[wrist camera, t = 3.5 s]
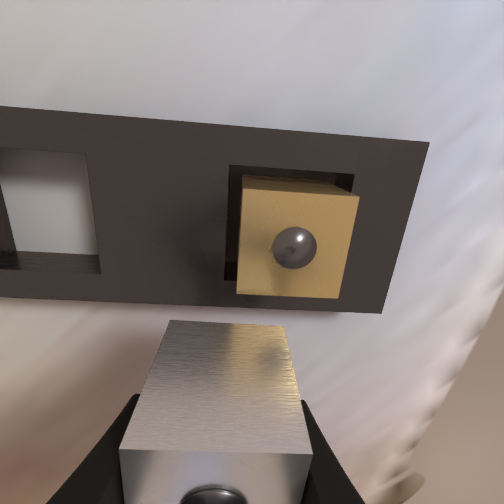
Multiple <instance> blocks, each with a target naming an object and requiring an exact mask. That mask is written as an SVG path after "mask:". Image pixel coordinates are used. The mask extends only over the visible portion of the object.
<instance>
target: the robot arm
mask: <svg viewBox="0 0 504 504" xmlns="http://www.w3.org/2000/svg"><path fill="white" fill-rule="evenodd" d="M139 397H140V394H135V395H133V396H132V397H131V399H130V400H129V402H128V403H127V405H126V406H125V407H124V409H123V410H122V412H121V413H120V414H119V416H118V417H117V418H116V420H115V421H114V422H113V424H112V425H111V426H110V428H109V429H108V430H107V432H106V433H105V434H104V436H103V437H102V438H101V439H100V441H99V442H98V443H97V444H96V446H95V447H94V448H93V449H92V451H91V452H90V453H89V454H88V455H87V457H86V458H85V459H84V460H83V462H82V463H81V464H80V465H79V466H78V468H77V469H76V470H75V471H74V472H73V473H72V475H71V476H70V477H69V478H68V479H67V480H66V481H65V483H64V484H63V485H62V486H61V487H60V488H59V490H58V491H57V492H56V493H55V494H54V495H53V496H52V497H51V499H50V500H49V501H48V502H47V503H46V504H125V502H124V493H123V484H122V474H121V465H120V456H119V447H120V445H121V442H122V440H123V437H124V435H125V432H126V430H127V427H128V425H129V422H130V420H131V417H132V414H133V412H134V409H135V407H136V404H137V402H138V399H139ZM301 405H302V409H303V413H304V418H305V422H306V426H307V430H308V435H309V439H310V443H311V448H312V452H313V456H312V460H311V464H310V468H309V472H308V476H307V480H306V483H305V487H304V491H303V495H302V499H301V503H300V504H365V502H364V501H363V499H362V498H361V496H360V495H359V493H358V492H357V490H356V489H355V487H354V486H353V484H352V483H351V481H350V480H349V478H348V476H347V475H346V473H345V472H344V470H343V468H342V467H341V465H340V463H339V462H338V460H337V458H336V457H335V455H334V453H333V452H332V450H331V448H330V447H329V445H328V443H327V441H326V440H325V438H324V436H323V434H322V432H321V431H320V429H319V427H318V425H317V423H316V421H315V419H314V417H313V415H312V413H311V411H310V410H309V407H308V405H307V403H306V402H305V401H304V400H301Z"/></svg>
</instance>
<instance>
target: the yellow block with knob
mask: <svg viewBox="0 0 504 504" xmlns="http://www.w3.org/2000/svg"><path fill="white" fill-rule="evenodd" d="M359 198H360V197H359V196H357V195H354V194H352V193H350V192H348V191H346V190H343V189H341V188H339V187H337V186H335V185H332V184H330V183H328V182H326V181H322V180H308V179H295V178H281V177H267V176H254V175H242V186H241V202H240V218H239V235H238V251H237V290H236V294H249V295H270V296H292V297H314V298H335V299H338V297H339V292H340V287H341V283H342V278H343V273H344V268H345V264H346V259H347V254H348V250H349V245H350V240H351V235H352V231H353V226H354V221H355V217H356V212H357V207H358V203H359Z"/></svg>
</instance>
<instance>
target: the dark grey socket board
mask: <svg viewBox="0 0 504 504" xmlns="http://www.w3.org/2000/svg"><path fill="white" fill-rule="evenodd" d="M429 143H430V142H421V141H409V140H397V139H385V138H374V137H362V136H350V135H338V134H326V133H314V132H303V131H291V130H279V129H267V128H255V127H243V126H232V125H220V124H208V123H196V122H184V121H173V120H161V119H149V118H137V117H125V116H113V115H102V114H90V113H78V112H66V111H54V110H42V109H31V108H19V107H7V106H0V147H5V148H18V149H31V150H45V151H58V152H71V153H84V154H86V160H87V168H88V175H89V183H90V191H91V198H92V206H93V214H94V222H95V229H96V237H97V245H98V252H99V255H84V254H65V253H46V252H27V251H16V247H15V243H14V239H13V235H12V231H11V227H10V223H9V218H8V214H7V210H6V206H5V202H4V198H3V194H2V189H1V185H0V297H10V298H33V299H56V300H79V301H102V302H125V303H148V304H171V305H194V306H217V307H240V308H263V309H286V310H309V311H333V312H356V313H379V314H382V310H383V307H384V303H385V299H386V296H387V292H388V289H389V285H390V282H391V278H392V275H393V271H394V268H395V264H396V260H397V257H398V253H399V250H400V246H401V243H402V239H403V236H404V232H405V229H406V225H407V221H408V218H409V214H410V211H411V207H412V204H413V200H414V197H415V193H416V190H417V186H418V182H419V179H420V175H421V172H422V168H423V165H424V161H425V158H426V154H427V151H428V147H429ZM230 165H243V166H256V167H269V168H282V169H296V170H309V171H322V172H335V173H337V178H336V184H335V186H337V187H339V188H341V189H343V190H346V191H348V192H350V193H352V194H354V195H357V196H359V197H360V198H359V203H358V207H357V212H356V217H355V221H354V226H353V231H352V235H351V240H350V245H349V250H348V254H347V259H346V264H345V268H344V273H343V278H342V283H341V287H340V292H339V297H338V299H335V298H314V297H292V296H270V295H249V294H236V290H237V263H233V262H226V251H227V229H228V208H229V186H230Z"/></svg>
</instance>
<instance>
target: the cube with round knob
mask: <svg viewBox="0 0 504 504" xmlns="http://www.w3.org/2000/svg"><path fill="white" fill-rule="evenodd" d="M119 456H120V465H121V474H122V484H123V493H124V502H125V504H300V503H301V499H302V495H303V491H304V487H305V483H306V480H307V476H308V472H309V468H310V464H311V460H312V456H313V452H312V448H311V443H310V439H309V435H308V430H307V426H306V422H305V418H304V413H303V409H302V405H301V400H300V396H299V392H298V387H297V383H296V379H295V374H294V370H293V366H292V361H291V357H290V353H289V348H288V344H287V340H286V336H285V331H284V327H283V326H267V325H250V324H232V323H215V322H198V321H180V320H170V322H169V324H168V327H167V329H166V332H165V334H164V337H163V339H162V342H161V344H160V347H159V349H158V352H157V354H156V357H155V359H154V362H153V364H152V367H151V369H150V372H149V374H148V377H147V379H146V382H145V384H144V387H143V389H142V392H141V394H140V397H139V399H138V402H137V404H136V407H135V409H134V412H133V414H132V417H131V420H130V422H129V425H128V427H127V430H126V432H125V435H124V437H123V440H122V442H121V445H120V447H119Z"/></svg>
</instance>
